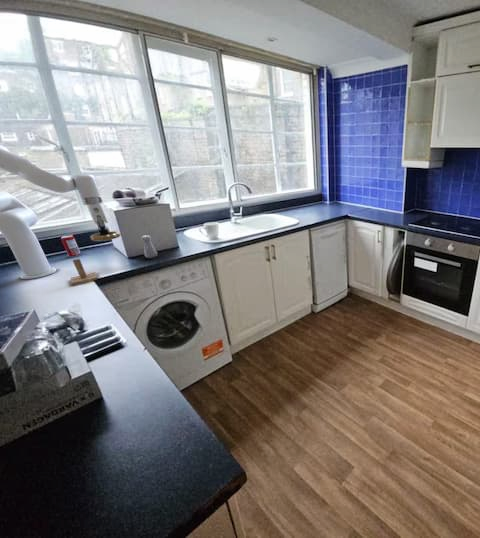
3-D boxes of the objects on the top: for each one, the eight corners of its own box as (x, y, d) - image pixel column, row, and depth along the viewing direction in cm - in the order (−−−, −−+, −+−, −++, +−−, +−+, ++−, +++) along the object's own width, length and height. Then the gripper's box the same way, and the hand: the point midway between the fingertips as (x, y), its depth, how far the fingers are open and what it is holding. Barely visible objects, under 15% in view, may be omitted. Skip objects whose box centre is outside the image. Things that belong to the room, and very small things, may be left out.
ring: (90, 238, 149) (88, 233, 148) (119, 233, 157) (117, 229, 156) (92, 243, 141) (90, 238, 141) (122, 238, 149) (121, 233, 148)
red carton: (72, 254, 173) (64, 235, 169) (83, 253, 174) (75, 234, 170) (66, 257, 168) (57, 237, 164) (77, 256, 170) (69, 236, 165)
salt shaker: (143, 260, 161) (135, 237, 156) (152, 256, 166) (145, 234, 161) (152, 260, 159) (144, 237, 154) (160, 257, 165) (154, 234, 160)
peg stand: (71, 280, 138) (62, 259, 134) (96, 274, 143) (88, 254, 140) (72, 285, 132) (62, 264, 128) (97, 279, 137) (89, 259, 133)
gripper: (104, 201, 142) (116, 237, 149) (100, 198, 153) (112, 232, 160) (83, 203, 137) (97, 241, 144) (81, 200, 148) (94, 235, 155)
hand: (105, 236), depth 152 cm, fingers closed on ring, 2 cm apart
